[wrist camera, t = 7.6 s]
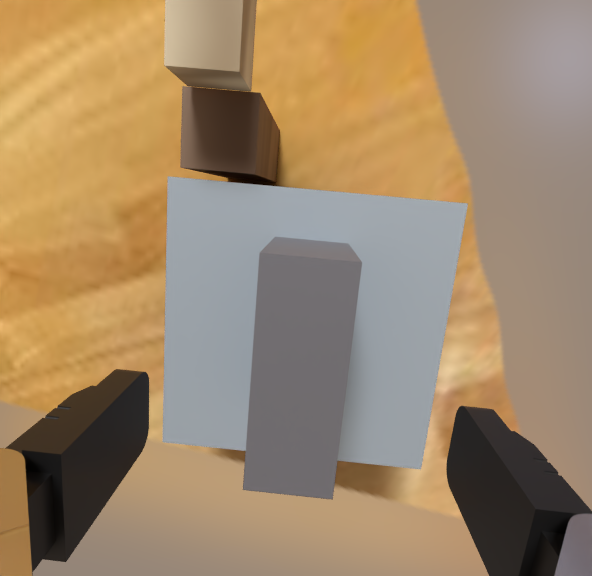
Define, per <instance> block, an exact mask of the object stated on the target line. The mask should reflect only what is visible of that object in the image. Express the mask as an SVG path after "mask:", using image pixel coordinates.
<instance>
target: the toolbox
mask: <svg viewBox="0 0 592 576" xmlns="http://www.w3.org/2000/svg"><path fill="white" fill-rule="evenodd" d="M279 135H280V130H279V128H278V126H277V124H276V122H275V120H274V119H273V117H272V115H271V113H270V111H269V109H268V107H267V105H266V103H265V101H264V99H263V97H262V95H261V93H255V92H243V91H232V90H220V89H208V88H196V87H185V86H183V89H182V127H181V166H180V167H181V168H186V169H190V170H195V171H199V172H204V173H208V174H213V175H217V176H222V177H226V178H235V179H246V180H257V181H268V182H276V175H277V162H278V149H279Z"/></svg>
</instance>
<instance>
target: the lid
mask: <svg viewBox="0 0 592 576" xmlns="http://www.w3.org/2000/svg"><path fill="white" fill-rule="evenodd" d="M467 205H468V204H467V203H455V202H444V201H433V200H422V199H411V198H400V197H389V196H378V195H367V194H356V193H345V192H334V191H323V190H312V189H301V188H289V187H278V186H267V185H256V184H245V183H234V182H223V181H212V180H201V179H190V178H179V177H168V197H167V248H166V299H165V350H164V401H163V442H166V443H176V444H185V445H195V446H204V447H214V448H223V449H232V450H242V451H246V454H245V469H244V483H243V490H249V491H259V492H268V493H277V494H287V495H296V496H305V497H315V498H324V499H333V492H334V484H335V476H336V468H337V461H346V462H356V463H365V464H375V465H384V466H394V467H403V468H413V469H421V466H422V460H423V455H424V449H425V443H426V438H427V432H428V426H429V421H430V415H431V409H432V404H433V398H434V392H435V387H436V381H437V375H438V370H439V364H440V358H441V353H442V347H443V341H444V336H445V330H446V324H447V319H448V313H449V307H450V302H451V296H452V290H453V285H454V279H455V273H456V268H457V262H458V256H459V251H460V245H461V239H462V234H463V228H464V222H465V217H466V211H467Z"/></svg>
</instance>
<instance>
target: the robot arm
mask: <svg viewBox="0 0 592 576" xmlns="http://www.w3.org/2000/svg"><path fill="white" fill-rule="evenodd" d="M148 429H149V378H148V374H147V373H146V372H139V371H130V370H120V369H116V370H114V371H113V372H112V373H111V374H110V375H108V376H107V377H106V378H105V379H104V380H103V381H101V382H100V383H99V384H98V385H97V386H90V387H88V388H86V389H83V390H81V391H79V392H76V393H74V394H72V395H71V396H69V397H68V398H67V399H66V400H64V401H63V402H62V403H61V404H60V405H58V407H57V408H55V409H53V410H52V411H51V412H50V413H48V414H47V415H46V417H45V418H42V419H41V420H40V421H38V423H36V424H35V425H34V426H32V427H31V428H30V429H29V430H27V431H26V432H25V433H24V434H22V435H21V436H20V437H19V438H17V439H16V440H15V441H14V442H13V443H11V444H10V445H9V446H8V447H6V448H5V449H4V448H0V576H33V571H34V570H35V568H36V567H37V566H38V564H39V563H40V562H41V560H42V559H45V560H54V561H62V562H66V561H67V560H68V558H69V557H70V555H71V554H72V552H73V551H74V549H75V548H76V547H77V545H78V544H79V542H80V541H81V539H82V538H83V537H84V535H85V533H86V532H87V531H88V529H89V528H90V526H91V525H92V523H93V522H94V520H95V519H96V518H97V516H98V515H99V513H100V512H101V510H102V509H103V507H104V506H105V505H106V503H107V501H108V500H109V499H110V497H111V496H112V494H113V493H114V492H115V490H116V488H117V487H118V485H119V484H120V483H121V481H122V480H123V478H124V477H125V475H126V474H127V473H128V471H129V470H130V468H131V467H132V465H133V464H134V462H135V461H136V459H137V458H138V457H139V455H140V454H141V452H142V450H143V448H144V446H145V443H146V440H147V436H148ZM447 479H448V484H449V487H450V489H451V492H452V494H453V496H454V498H455V501H456V503H457V505H458V507H459V509H460V512H461V514H462V516H463V518H464V521H465V523H466V525H467V527H468V529H469V531H470V534H471V536H472V538H473V540H474V543H475V545H476V547H477V549H478V552H479V554H480V556H481V558H482V561H483V562H484V565H485V567H486V569H487V572H488V574H489V576H592V511H591V510H590V509H589V507H588V506H587V505H586V504H585V503H584V502H583V501H582V499H581V498H580V497H579V496H578V495H577V494H576V492H575V491H574V490H573V489H572V488H571V487H570V486H569V484H568V483H567V482H566V481H565V480H564V479H563V477H562V476H559V475H558V472H557V470H556V469H555V468H554V467H553V466H552V465H551V464H550V463H548V462H547V459H546V458H545V457H544V455H543V454H542V453H541V452H540V451H539V450H538V448H537V447H536V446H535V445H534V444H532V443H531V442H529V441H528V440H527V439H525V438H524V437H522V436H521V435H519V434H518V433H516V432H515V431H510V429H509V428H508V427H507V426H506V424H505V423H504V422H503V421H502V420H501V418H500V417H499V416H498V415H497V413H496V412H495V411H494V410H492V409H486V408H477V407H467V406H460V407H459V408H458V410H457V413H456V417H455V422H454V427H453V432H452V438H451V443H450V448H449V453H448V458H447Z"/></svg>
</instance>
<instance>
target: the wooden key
mask: <svg viewBox="0 0 592 576" xmlns="http://www.w3.org/2000/svg"><path fill="white" fill-rule="evenodd" d="M256 3H257V0H165V56H164V66H166V67H167V68H168V69H169V70H170V71H171V72H172V73H173V74H175V75H176V76H177V77H178V78H179V79H180V80H181V81H183V82H184V83H185V84H186V85H187V86H192V87H204V88H215V89H227V90H239V91H251V86H252V69H253V53H254V36H255V19H256Z"/></svg>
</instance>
